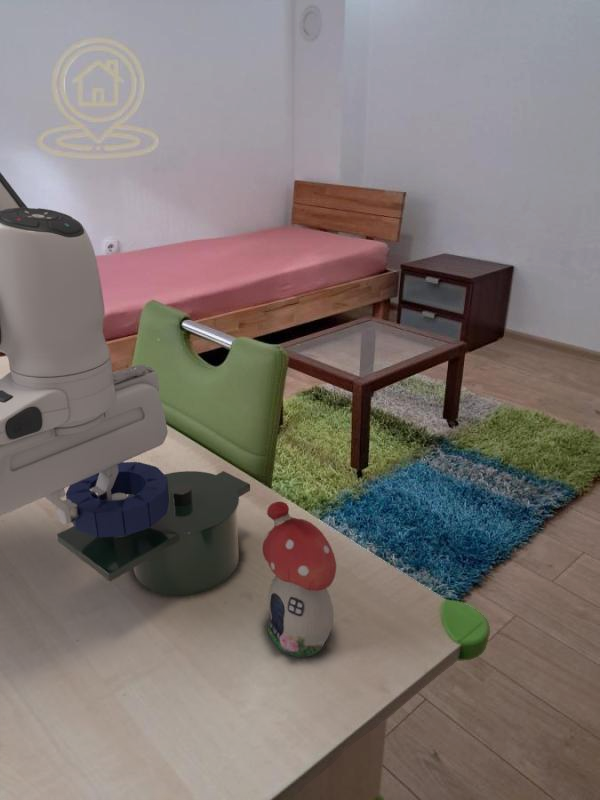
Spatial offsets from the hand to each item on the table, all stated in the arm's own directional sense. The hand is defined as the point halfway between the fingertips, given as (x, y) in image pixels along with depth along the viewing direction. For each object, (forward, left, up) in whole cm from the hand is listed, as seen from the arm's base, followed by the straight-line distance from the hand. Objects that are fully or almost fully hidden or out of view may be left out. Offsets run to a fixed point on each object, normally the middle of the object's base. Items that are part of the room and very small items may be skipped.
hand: (85, 511), depth 65 cm
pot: (+7, +7, -14) cm, 17 cm away
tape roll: (+3, +3, -2) cm, 4 cm away
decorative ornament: (+22, -4, -14) cm, 26 cm away
